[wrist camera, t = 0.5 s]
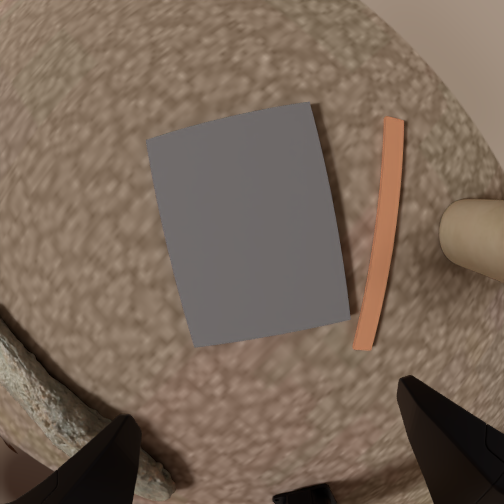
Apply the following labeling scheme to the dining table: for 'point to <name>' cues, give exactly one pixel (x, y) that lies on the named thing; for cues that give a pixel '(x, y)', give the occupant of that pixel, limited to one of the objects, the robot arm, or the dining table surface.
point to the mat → (250, 225)
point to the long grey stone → (66, 413)
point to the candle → (475, 236)
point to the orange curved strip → (382, 233)
